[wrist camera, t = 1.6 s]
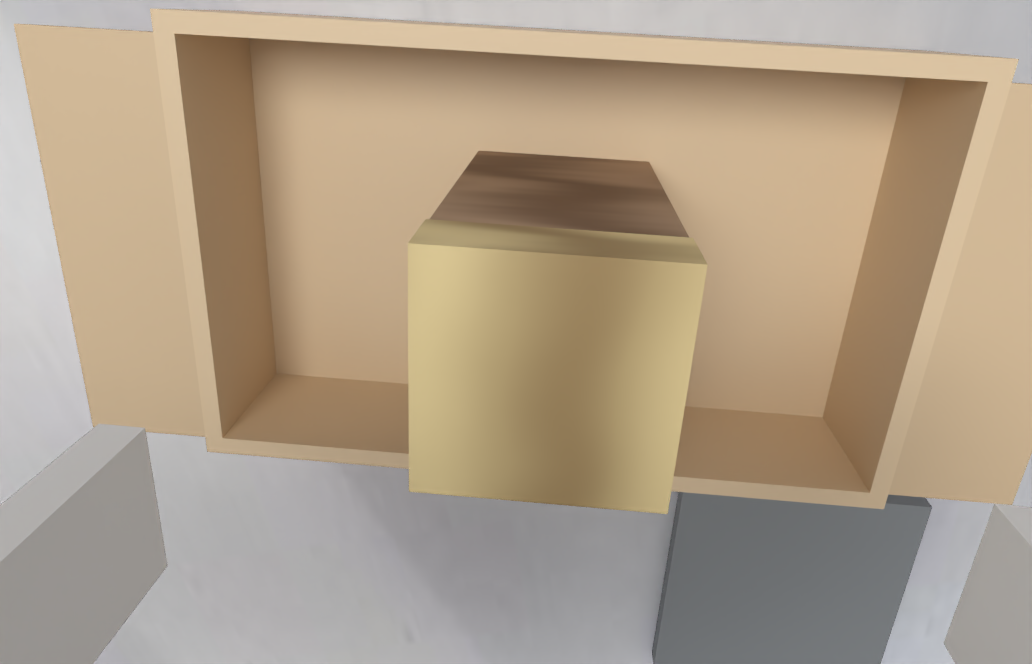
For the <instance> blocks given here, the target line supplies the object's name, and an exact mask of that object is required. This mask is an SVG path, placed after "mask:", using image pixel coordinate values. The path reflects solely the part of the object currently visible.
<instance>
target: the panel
mask: <svg viewBox="0 0 1032 664" xmlns="http://www.w3.org/2000/svg"><path fill="white" fill-rule="evenodd" d="M931 509H932V507H931V505H930V504H929V503H928V501H927V500H926V498H925V497H913V496H901V495H889V494H888V497H887V501H886V504H885V507H884V509H874V508H862V507H851V506H839V505H827V504H815V503H804V502H792V501H780V500H769V499H757V498H745V497H733V496H722V495H710V494H698V493H686V492H679V494H678V500H677V506H676V512H675V518H674V524H673V530H672V536H671V542H670V548H669V554H668V560H667V566H666V572H665V578H664V584H663V590H662V596H661V602H660V609H659V615H658V621H657V627H656V633H655V639H654V645H653V651H652V656H653V664H881V661H882V658H883V654H884V651H885V648H886V645H887V642H888V639H889V636H890V633H891V630H892V627H893V624H894V621H895V618H896V615H897V612H898V609H899V606H900V603H901V600H902V597H903V594H904V591H905V588H906V585H907V582H908V579H909V576H910V573H911V570H912V567H913V564H914V560H915V557H916V554H917V551H918V548H919V545H920V542H921V539H922V536H923V533H924V530H925V527H926V524H927V521H928V518H929V515H930V512H931Z"/></svg>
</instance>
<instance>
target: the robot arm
mask: <svg viewBox="0 0 1032 664" xmlns="http://www.w3.org/2000/svg"><path fill="white" fill-rule="evenodd" d="M166 567H167V560H166V554H165V548H164V542H163V536H162V529H161V523H160V517H159V511H158V505H157V499H156V493H155V486H154V480H153V474H152V468H151V462H150V456H149V449H148V443H147V437H146V431H145V428H142V427H130V426H119V425H108V424H98V425H96V426H95V427H94V428H93V429H92V430H90V431H89V432H88V433H87V434H85V435H84V436H83V437H82V438H81V439H79V440H78V441H77V442H76V443H75V444H73V445H72V446H71V447H70V448H69V449H67V450H66V451H65V452H64V453H63V454H61V455H60V456H59V457H58V458H57V459H55V460H54V461H53V462H52V463H51V464H49V465H48V466H47V467H46V468H45V469H43V470H42V471H41V472H40V473H39V474H37V475H36V476H35V477H34V478H32V479H31V480H30V481H29V482H28V483H26V484H25V485H24V486H23V487H22V488H20V489H19V490H18V491H17V492H16V493H14V494H13V495H12V496H11V497H10V498H8V499H7V500H6V501H5V502H4V503H2V504H1V505H0V664H93V663H94V662H95V661H96V659H97V658H98V657H99V655H100V654H101V653H102V651H103V650H104V649H105V647H106V646H107V645H108V643H109V642H110V641H111V640H112V638H113V637H114V636H115V634H116V633H117V632H118V630H119V629H120V628H121V626H122V625H123V624H124V622H125V621H126V620H127V618H128V617H129V616H130V615H131V613H132V612H133V611H134V609H135V608H136V607H137V605H138V604H139V603H140V601H141V600H142V599H143V597H144V596H145V595H146V594H147V592H148V591H149V590H150V588H151V587H152V586H153V584H154V583H155V582H156V580H157V579H158V578H159V576H160V575H161V574H162V573H163V571H164V570H165V569H166ZM944 645H945V647H946V648H947V650H948V652H949V653H950V655H951V657H952V659H953V660H954V662H955V664H1032V507H1025V506H1014V505H1003V504H994V507H993V509H992V512H991V515H990V518H989V520H988V523H987V526H986V529H985V531H984V534H983V537H982V540H981V542H980V545H979V548H978V550H977V553H976V556H975V559H974V561H973V564H972V567H971V570H970V572H969V575H968V578H967V581H966V583H965V586H964V589H963V592H962V594H961V597H960V600H959V603H958V605H957V608H956V611H955V613H954V616H953V619H952V622H951V624H950V627H949V630H948V633H947V635H946V638H945V641H944Z"/></svg>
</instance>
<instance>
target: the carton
mask: <svg viewBox="0 0 1032 664" xmlns="http://www.w3.org/2000/svg"><path fill="white" fill-rule="evenodd" d="M150 12H151V19H152V27H153V32H150V31H133V30H116V29H99V28H82V27H66V26H49V25H32V24H14V27H15V32H16V37H17V42H18V47H19V53H20V58H21V63H22V68H23V73H24V78H25V83H26V88H27V93H28V98H29V103H30V108H31V114H32V119H33V124H34V129H35V134H36V139H37V144H38V149H39V154H40V159H41V164H42V169H43V175H44V180H45V185H46V190H47V195H48V200H49V205H50V210H51V215H52V220H53V225H54V230H55V236H56V241H57V246H58V251H59V256H60V261H61V266H62V271H63V276H64V281H65V286H66V291H67V297H68V302H69V307H70V312H71V317H72V322H73V327H74V332H75V337H76V342H77V347H78V352H79V358H80V363H81V368H82V373H83V378H84V383H85V388H86V393H87V398H88V403H89V408H90V413H91V418H92V424H93V427H95V426H96V425H98V424H108V425H119V426H130V427H142V428H145V431H146V432H154V433H166V434H178V435H190V436H202V437H206V445H207V452H217V453H229V454H241V455H253V456H264V457H276V458H288V459H299V460H311V461H323V462H335V463H346V464H358V465H370V466H382V467H393V468H405V469H409V400H408V242H409V241H410V240H411V238H412V237H413V235H414V234H415V233H416V231H417V230H418V229H419V227H420V226H421V225H422V223H423V222H424V221H425V219H430V218H431V216H432V215H433V213H434V212H435V211H436V209H437V208H438V206H439V205H440V204H441V202H442V201H443V199H444V198H445V197H446V195H447V194H448V192H449V191H450V190H451V188H452V187H453V186H454V184H455V183H456V181H457V180H458V179H459V177H460V176H461V174H462V173H463V172H464V170H465V169H466V167H467V166H468V165H469V163H470V162H471V161H472V159H473V158H474V156H475V155H476V154H477V152H478V151H494V152H510V153H525V154H540V155H555V156H571V157H586V158H601V159H616V160H632V161H647V162H649V163H650V164H651V166H652V168H653V170H654V172H655V174H656V176H657V178H658V180H659V181H660V183H661V185H662V187H663V189H664V191H665V193H666V195H667V197H668V198H669V200H670V202H671V204H672V206H673V208H674V210H675V212H676V213H677V215H678V217H679V219H680V221H681V223H682V225H683V227H684V229H685V230H686V232H687V234H688V236H689V238H693V239H694V240H695V242H696V244H697V246H698V248H699V250H700V251H701V253H702V255H703V257H704V259H705V261H706V262H707V264H708V266H707V273H706V279H705V285H704V291H703V297H702V304H701V310H700V316H699V322H698V328H697V335H696V341H695V347H694V353H693V359H692V366H691V372H690V378H689V384H688V390H687V397H686V403H685V409H684V415H683V421H682V428H681V434H680V440H679V446H678V452H677V459H676V465H675V471H674V477H673V483H672V490H671V491H675V492H686V493H698V494H710V495H722V496H733V497H745V498H757V499H769V500H780V501H792V502H804V503H815V504H827V505H839V506H851V507H862V508H874V509H884V507H885V504H886V501H887V497H888V494H889V495H901V496H913V497H925V498H937V499H948V500H960V501H972V502H984V503H996V504H1008V505H1012V503H1013V501H1014V498H1015V496H1016V493H1017V490H1018V488H1019V485H1020V482H1021V480H1022V477H1023V475H1024V472H1025V469H1026V467H1027V464H1028V461H1029V459H1030V456H1031V454H1032V84H1024V83H1012V80H1013V76H1014V73H1015V70H1016V66H1017V63H1018V60H1019V59H1012V58H1001V57H990V56H979V55H968V54H957V53H945V52H934V51H921V50H904V49H887V48H870V47H852V46H835V45H818V44H801V43H783V42H766V41H749V40H731V39H714V38H697V37H680V36H662V35H645V34H628V33H611V32H593V31H576V30H559V29H542V28H524V27H507V26H490V25H472V24H455V23H438V22H421V21H403V20H386V19H369V18H352V17H334V16H317V15H300V14H282V13H265V12H248V11H226V10H185V9H150Z"/></svg>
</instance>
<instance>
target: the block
mask: <svg viewBox="0 0 1032 664" xmlns="http://www.w3.org/2000/svg"><path fill="white" fill-rule="evenodd" d="M707 266H708V264H707V262H706V261H705V259H704V257H703V255H702V253H701V251H700V250H699V248H698V246H697V244H696V242H695V240H694V239H693V238H689V236H688V234H687V232H686V230H685V229H684V227H683V225H682V223H681V221H680V219H679V217H678V215H677V213H676V212H675V210H674V208H673V206H672V204H671V202H670V200H669V198H668V197H667V195H666V193H665V191H664V189H663V187H662V185H661V183H660V181H659V180H658V178H657V176H656V174H655V172H654V170H653V168H652V166H651V164H650V163H649V162H647V161H632V160H616V159H601V158H586V157H571V156H555V155H540V154H525V153H510V152H494V151H478V152H477V154H476V155H475V156H474V158H473V159H472V161H471V162H470V163H469V165H468V166H467V167H466V169H465V170H464V172H463V173H462V174H461V176H460V177H459V179H458V180H457V181H456V183H455V184H454V186H453V187H452V188H451V190H450V191H449V192H448V194H447V195H446V197H445V198H444V199H443V201H442V202H441V204H440V205H439V206H438V208H437V209H436V211H435V212H434V213H433V215H432V216H431V218H430V219H425V221H424V222H423V223H422V225H421V226H420V227H419V229H418V230H417V231H416V233H415V234H414V235H413V237H412V238H411V240H410V241H409V242H408V400H409V492H419V493H431V494H442V495H454V496H465V497H477V498H488V499H500V500H511V501H523V502H534V503H546V504H557V505H569V506H581V507H592V508H604V509H615V510H627V511H638V512H650V513H661V514H668V508H669V502H670V496H671V490H672V483H673V477H674V471H675V465H676V459H677V452H678V446H679V440H680V434H681V428H682V421H683V415H684V409H685V403H686V397H687V390H688V384H689V378H690V372H691V366H692V359H693V353H694V347H695V341H696V335H697V328H698V322H699V316H700V310H701V304H702V297H703V291H704V285H705V279H706V273H707Z"/></svg>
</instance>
